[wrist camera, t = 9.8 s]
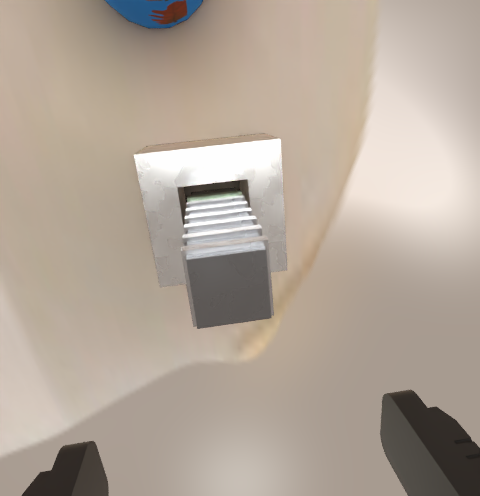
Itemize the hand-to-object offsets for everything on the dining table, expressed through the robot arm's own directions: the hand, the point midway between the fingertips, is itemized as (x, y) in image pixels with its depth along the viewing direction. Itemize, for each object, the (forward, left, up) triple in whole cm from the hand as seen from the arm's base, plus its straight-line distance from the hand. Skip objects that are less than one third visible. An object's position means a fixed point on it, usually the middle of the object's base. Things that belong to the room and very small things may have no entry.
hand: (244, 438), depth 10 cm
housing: (0, 0, -31) cm, 31 cm away
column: (0, 0, -25) cm, 25 cm away
